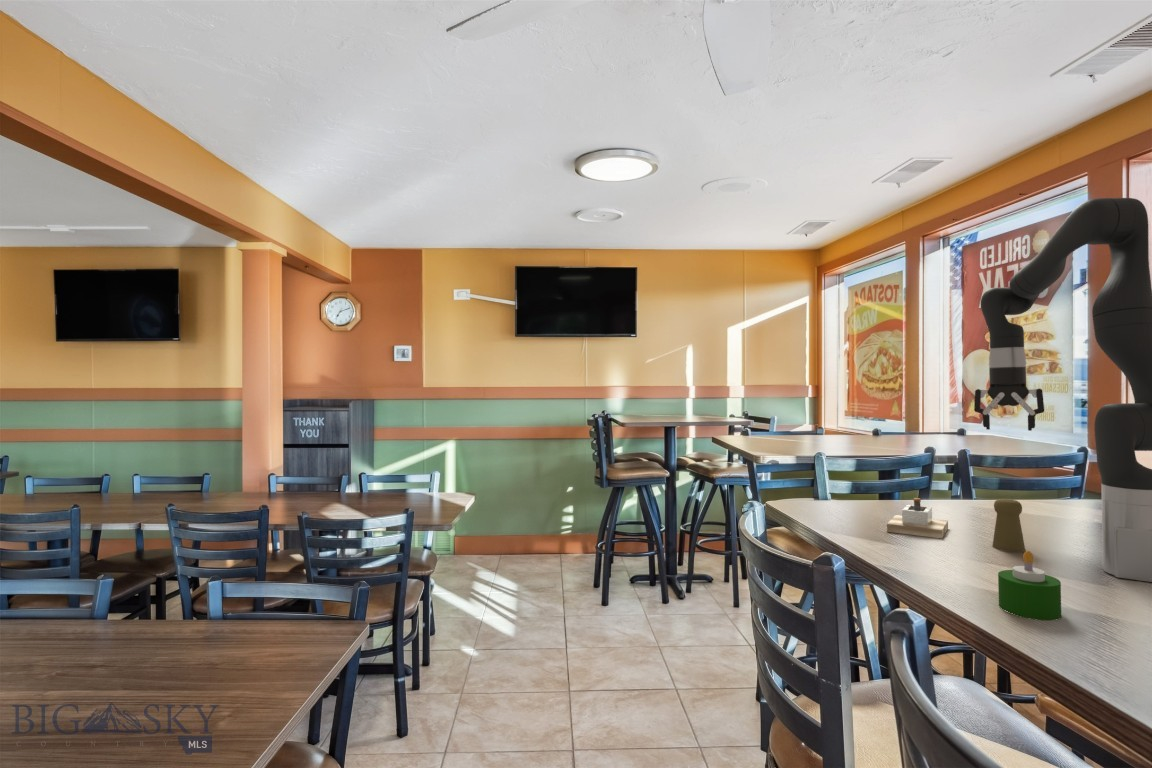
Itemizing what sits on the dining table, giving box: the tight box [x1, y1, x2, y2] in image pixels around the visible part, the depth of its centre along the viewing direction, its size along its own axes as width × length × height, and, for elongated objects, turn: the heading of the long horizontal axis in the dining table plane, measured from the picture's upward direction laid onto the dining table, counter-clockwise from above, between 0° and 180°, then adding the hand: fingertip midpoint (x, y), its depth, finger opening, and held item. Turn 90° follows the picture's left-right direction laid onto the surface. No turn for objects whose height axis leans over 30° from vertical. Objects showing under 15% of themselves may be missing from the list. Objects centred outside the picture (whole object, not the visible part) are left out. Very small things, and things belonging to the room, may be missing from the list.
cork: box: [992, 498, 1026, 553], centre depth 134 cm, size 6×6×11 cm
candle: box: [997, 550, 1062, 621], centre depth 98 cm, size 8×8×10 cm
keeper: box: [886, 497, 949, 539], centre depth 151 cm, size 12×12×8 cm
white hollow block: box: [901, 504, 933, 527], centre depth 151 cm, size 8×6×4 cm
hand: (1008, 429), depth 149 cm, fingers open, 8 cm apart
